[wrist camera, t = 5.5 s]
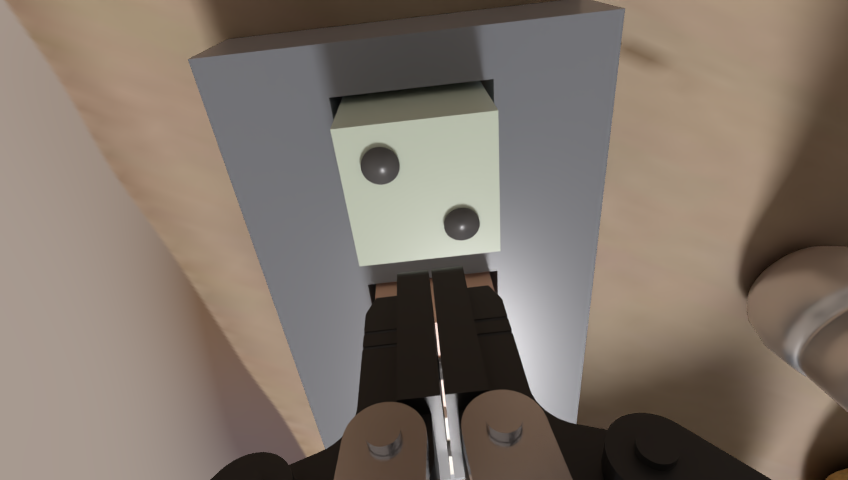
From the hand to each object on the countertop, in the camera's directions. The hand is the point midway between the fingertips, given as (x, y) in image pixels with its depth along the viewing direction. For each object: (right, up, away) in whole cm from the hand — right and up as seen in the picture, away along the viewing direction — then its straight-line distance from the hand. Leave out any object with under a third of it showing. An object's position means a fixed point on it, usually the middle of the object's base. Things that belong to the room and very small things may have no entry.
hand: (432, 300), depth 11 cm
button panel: (0, 0, +14) cm, 14 cm away
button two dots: (0, +5, +8) cm, 10 cm away
